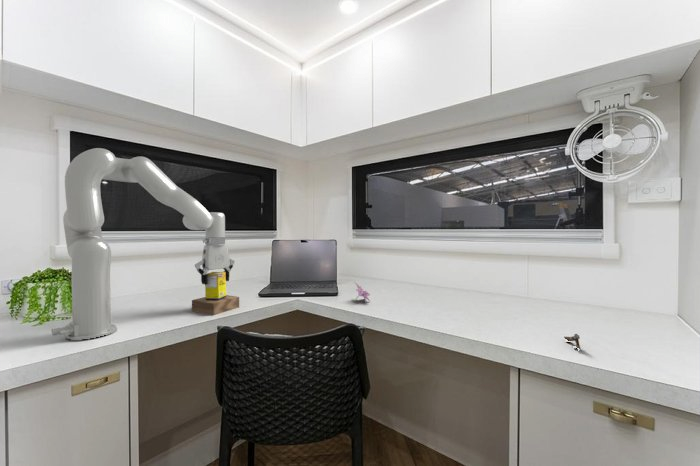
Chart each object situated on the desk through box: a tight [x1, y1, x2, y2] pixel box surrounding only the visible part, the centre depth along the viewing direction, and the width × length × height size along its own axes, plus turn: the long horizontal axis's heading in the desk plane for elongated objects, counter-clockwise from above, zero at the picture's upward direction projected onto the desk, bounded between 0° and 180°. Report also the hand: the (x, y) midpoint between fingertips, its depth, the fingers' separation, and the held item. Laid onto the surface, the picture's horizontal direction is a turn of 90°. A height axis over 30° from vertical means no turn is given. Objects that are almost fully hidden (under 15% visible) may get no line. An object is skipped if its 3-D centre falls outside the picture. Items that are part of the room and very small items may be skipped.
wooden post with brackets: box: [563, 333, 581, 349], centre depth 90 cm, size 2×8×5 cm, turn 163°
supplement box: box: [204, 271, 227, 300], centre depth 129 cm, size 6×6×11 cm
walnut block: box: [191, 294, 240, 316], centre depth 130 cm, size 13×13×5 cm
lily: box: [353, 281, 371, 303], centre depth 143 cm, size 11×11×9 cm
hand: (215, 282), depth 129 cm, fingers open, 9 cm apart
